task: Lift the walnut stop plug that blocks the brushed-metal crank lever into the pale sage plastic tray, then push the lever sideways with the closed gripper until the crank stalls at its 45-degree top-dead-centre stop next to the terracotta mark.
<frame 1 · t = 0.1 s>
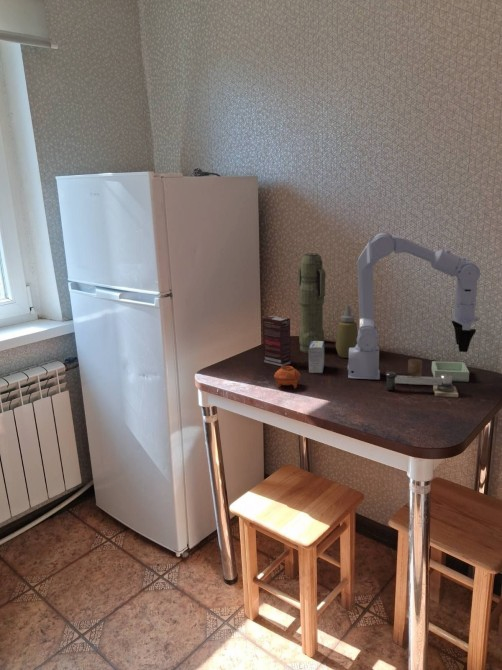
hand: (461, 347, 159), 10 cm above the table, fingers open, 7 cm apart
crank lever: (417, 382, 152), point 3 cm above the table, hinge at 0.0°
tray: (449, 375, 165), on the table
medicine box: (316, 370, 175), on the table
stop plug: (414, 383, 160), on the table
pot: (287, 387, 160), on the table
crank mount: (445, 392, 151), on the table
squeeze bottle: (346, 356, 188), on the table
supplement box: (277, 363, 183), on the table
thermos: (311, 350, 196), on the table
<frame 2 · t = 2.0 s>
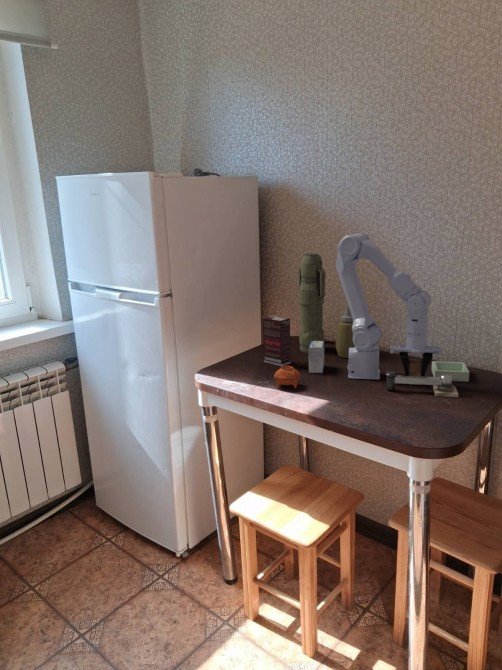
hand: (414, 376, 159), 2 cm above the table, fingers closed on stop plug, 4 cm apart
stop plug: (414, 383, 160), on the table, touching gripper
everything else where it was.
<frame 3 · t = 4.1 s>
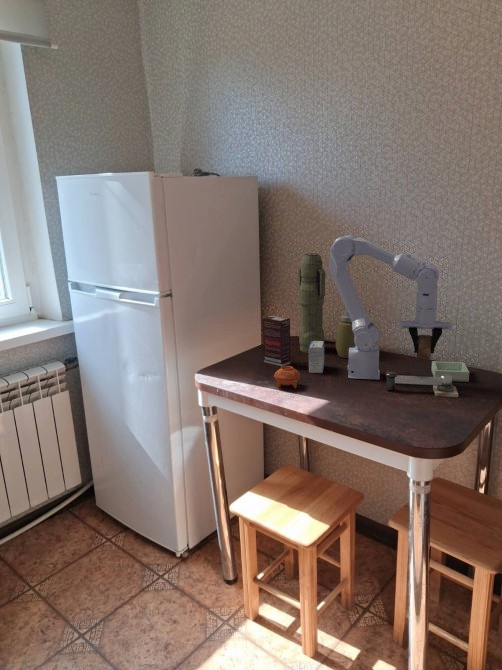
hand: (423, 352, 158), 9 cm above the table, fingers closed on stop plug, 4 cm apart
stop plug: (423, 358, 159), point 7 cm above the table, touching gripper
everything else where it was.
when the fingers open (4 cm above the table, at t = 6.3 s): stop plug drops 2 cm, resting on tray.
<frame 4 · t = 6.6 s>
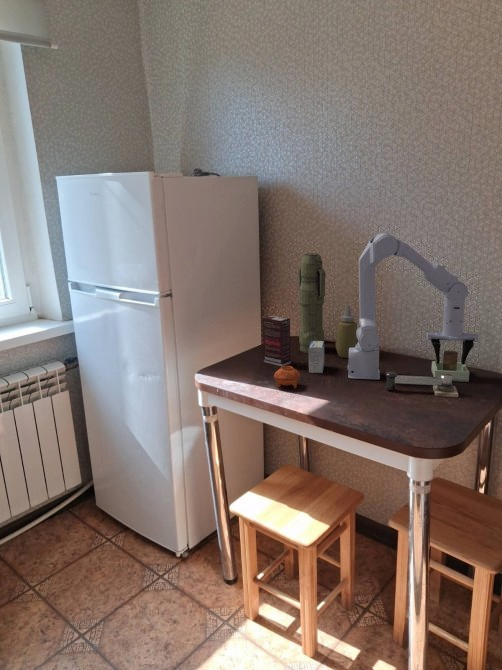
hand: (450, 363, 164), 4 cm above the table, fingers open, 7 cm apart
stop plug: (449, 374, 165), point 1 cm above the table, touching tray
everything else where it was.
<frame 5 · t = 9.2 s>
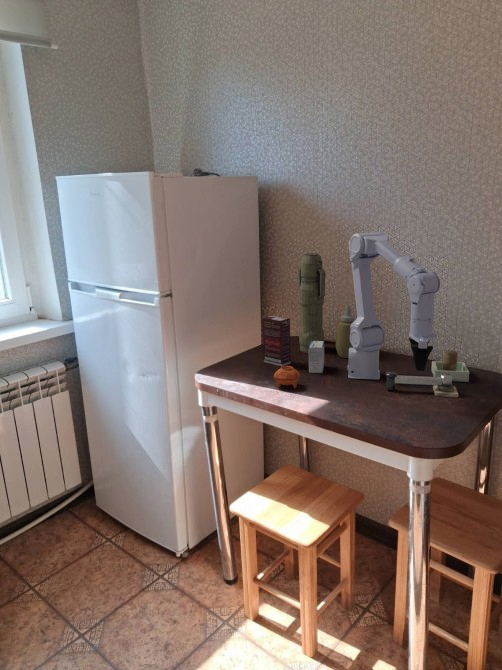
hand: (419, 366, 145), 9 cm above the table, fingers open, 5 cm apart
nothing on the table moved.
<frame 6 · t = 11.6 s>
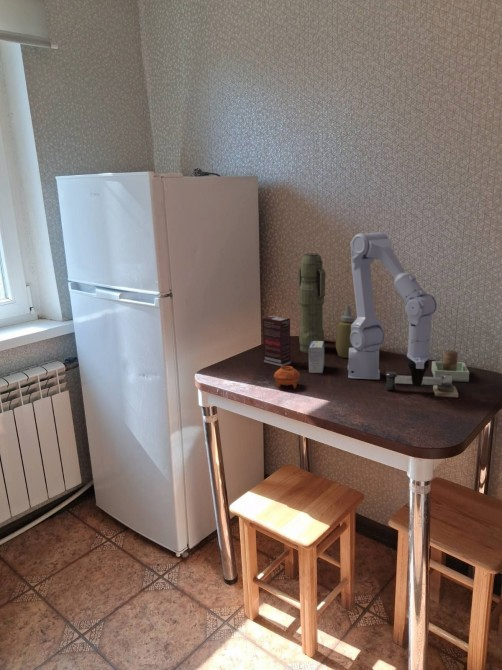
hand: (416, 385, 151), 3 cm above the table, fingers closed, pressing on crank lever
crank lever: (417, 382, 152), point 3 cm above the table, hinge at 0.0°, touching gripper
everything else where it was.
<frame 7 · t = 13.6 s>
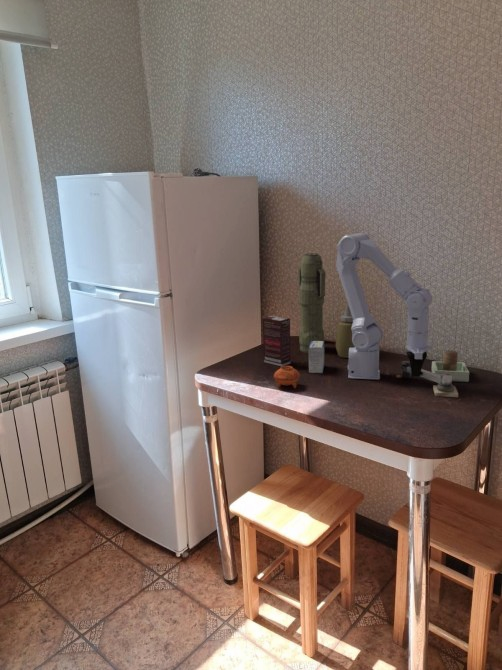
hand: (415, 375, 158), 3 cm above the table, fingers closed, pressing on crank lever
crank lever: (425, 376, 157), point 3 cm above the table, hinge at 47.2°, touching gripper
everything else where it was.
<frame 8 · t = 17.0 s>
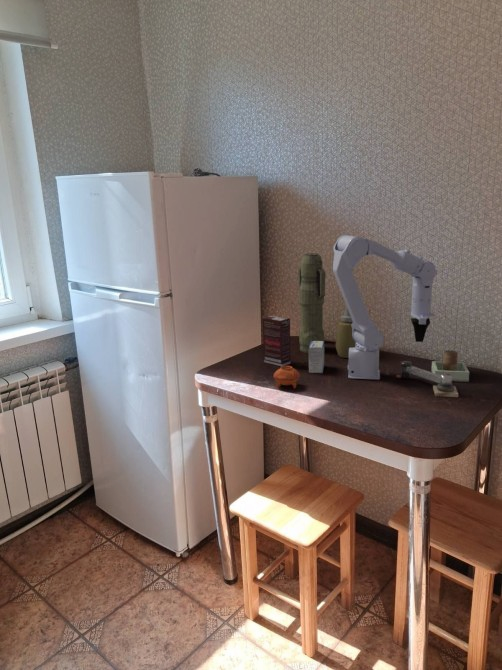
hand: (419, 341, 169), 9 cm above the table, fingers closed
crank lever: (424, 376, 157), point 3 cm above the table, hinge at 46.5°
everything else where it was.
at the end: crank lever at +46° (first picture: +0°); stop plug 0.1 cm off-centre on the tray, point 0.6 cm above the tray's base; stop plug tilted 0° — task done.
